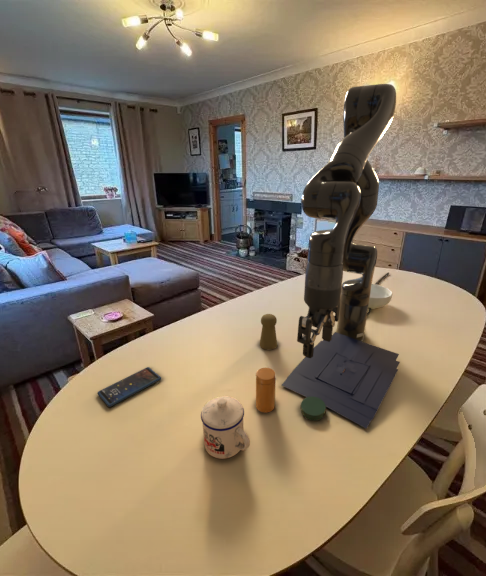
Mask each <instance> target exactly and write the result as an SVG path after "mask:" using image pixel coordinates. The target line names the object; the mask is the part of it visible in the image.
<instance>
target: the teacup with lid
mask: <svg viewBox="0 0 486 576" xmlns="http://www.w3.org/2000/svg"><path fill="white" fill-rule="evenodd" d="M244 418H245V408H244V406H243V404H242V403H241V402H240V400H238V399H237V398H235V397H232V396H230V395H229V396H228V395H221V396H217V397H214V398H213V397H212V398H211V399H210V400H208V401H207V402H206V403H205V404H204V405H203V406H202V409H201V411H200V419H201V422H202V432H203V443H204V448H205V451H206V452H207V453H208V454H209V455H210V456H211V457H213V458H216V459H221V460H225V459H229V458H232V457H234V456H235V455H237V454H238V453H239V452H240V451H246V450H248V448H249V447H250V445H251V440H250V437H249V435H248V434H247V432H246V431H245V430H244Z"/></svg>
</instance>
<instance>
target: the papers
mask: <svg viewBox="0 0 486 576" xmlns="http://www.w3.org/2000/svg"><path fill="white" fill-rule="evenodd" d="M399 355H400V354H399V353H397V352H394V351H391V350H388V349H385V348H382V347H379V346H376V345H373V344H371V343H367V342H364V341H363V342H362V341H359V340H356V339H353V338H351V337H348V336H345V335H342V334H339V333H337V331H335V332H334V333H332V340H331V341H330V342H328V341H325V340H323V339H322V340H320V341H319V342H318V343H317V344H315V345H314V351H313V357H312V358H308V357H305V356H304V358H302V360H301V361H299V363H298V364H297V365H296V366H295V368H293V370H291V372H289V374H288V376H287V377H286V379H285V380H284V381H283V382H282V383H281V387H284V388H286V389H288V390H290V391H292V392H294V393H296V394H299V395H301V396H303V397H305V398H307V397H317V398H320V399H321V400H322V401H323V402H324V403H325V406H326V408H328V409H329V410H331V411H333V412H335V413H337V414H338V415H340V416H342V417H344V418H346V419H348V420H350V421H352V422H353V423H355V424H356V425H359V426H360V427H362V428H364V429H368V427H369V426H370V424H371V422H372V421H373V420H374V418H375V416H376V414H377V412H378V410H379V408H380V407H381V404H382V403H383V401H384V399H385V397H386V396H387V393H388V391H389V389H390V387H391V385H392V383H393V382H394V379H395V377H396V376H397V373H398V371H399V369H398V367H399V365H400V363H401V361H398V360H397V359H398V358H399Z"/></svg>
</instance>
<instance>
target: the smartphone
mask: <svg viewBox="0 0 486 576" xmlns="http://www.w3.org/2000/svg"><path fill="white" fill-rule="evenodd" d="M161 380H162V377H161V376H160V375H159V374H158V373H156V371H154V370H153V369H152V368H150V366H146V367H145V368H143V369H141V370H139V371H136V372H134V373H133V374H131V375H129V376H126V377H124V378H123V379H120V380H118V381H117V382H115V383H112V384H110V385H109V386H106V387H104V388H103V389H101V390H98V391H97V393H96V394H97V395H98V397H99V398H100V399H101V400H102V401H103V402H104V403H105V405H106V406H107V407H108V408H111V407H114V406H115V405H117V404H119V403H121V402H123V401H124V400H125V399H128V398H130V397H132V396H133V395H135V394H137V393H140V392H141V391H143V390H145V389H146V388H149V387H150V386H152V385H154V384H155V383H156V384H157V382H159V381H161Z"/></svg>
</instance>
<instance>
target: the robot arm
mask: <svg viewBox="0 0 486 576" xmlns="http://www.w3.org/2000/svg"><path fill="white" fill-rule="evenodd" d="M396 105H397V90H396V88H395V86H394V85H393V84H390V83H377V84H368V85H356V86H352V87H350V88H349V89H348V90H347V92H346V94H345V96H344V102H343V110H342V111H343V112H342V113H343V114H342V115H343V116H342V117H343V118H342V120H343V121H342V122H343V138H341V140H340V141H339V142H338V143H337V145H336V146H335V148H334V149H333V151H332V154H331V155H330V157H329V160H328V162H327V163H326V164H325V165H324V166H323V167H322V168H320V170H318V172H316V174H314V175H313V176H312V177H311V178H310V179H309V180H308V182H307V183H306V185H305V187H304V189H303V191H302V194H301V199H300V206H301V210H302V211H303V214H305V216H307V217H309V218H312V219H321V220H331V221H335V223H334V226H333V228H328V229H320V230H316V231H313V232H312V233H311V234H310V235H309V236H308V246H307V247H308V248H307V249H308V250H307V262H306V267H305V275H304V290H303V291H304V294H303V301H304V303H305V305H306V306H307V308H308V311H307V314H306V316H303V315H300V316H299V317H298V326H297V335H296V336H297V338H296V342H297V343H300V344H302V355H303V356H304V358H305V357H308V358H312V357H313V351H314V347H315V341H316V338H317V336H319V335H320V334H321V339H322V341H323V340H325V341H328V342H330V341H331V340H332V335H333V330H334V327H335V326H336V332H337V333H339V334H342V335H345V336H348V337H351V338H353V339H356V340H359V341H362V342H364V340H365V331H366V325H367V318H368V316H369V315H370V314H371V311H372V309H371V308H369V309H368V306H369V299H370V293H371V286H372V284H373V279H374V275H375V269H376V265H377V260H378V249H377V247H376V246H374V245H368V244H359V243H354V239H355V237H356V235H357V234H358V232H359V231H360V229H361V228H362V227H363V226H364V224H365V223H366V222H367V221H368V220H369V219H370V217H372V215H373V214H374V213H375V211H376V209H377V207H378V200H379V190H380V181H379V178H378V175H377V173H376V171H375V170H374V168H373V166H372V164H371V163H370V161H369V157H370V156H371V154H372V151H373V150H374V149H375V147H376V146H377V145H378V144H379V142H380V140H381V139H382V138H383V136H384V134H385V133H386V131H387V130H388V129H389V127H390V125H391V123H392V121H393V118H394V115H395V112H396ZM345 272H346V273H349V274H350V273H351V274H356V275H361V276H360V277H357V278H352V279H348V280H345V281H343V278H344V273H345ZM389 274H390V272H387V273H385V274H384V275H383V276H381V277H380V278H379V279H378V280H377V281H376V282H375V284H376V285H379V283H380V282H381V281H382V280H383V279H384V278H385V277H387V276H388V275H389ZM336 323H337V325H336ZM314 328H316V329H314Z"/></svg>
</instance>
